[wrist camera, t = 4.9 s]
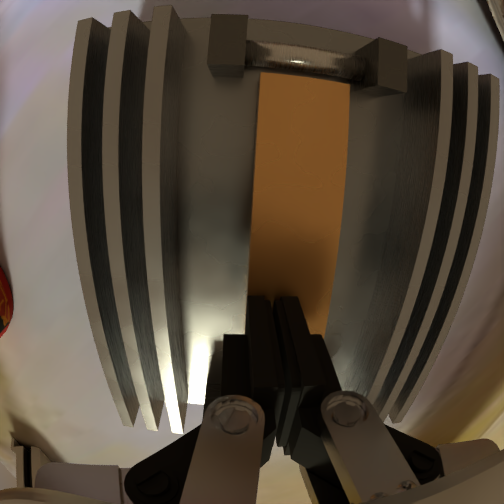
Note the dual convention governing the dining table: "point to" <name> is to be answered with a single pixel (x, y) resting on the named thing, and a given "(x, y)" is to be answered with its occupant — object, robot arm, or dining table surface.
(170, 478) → the robot arm
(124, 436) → the dining table surface
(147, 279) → the heatsink
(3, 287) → the canned food
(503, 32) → the food plate
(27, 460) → the white curved block
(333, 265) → the orange brown flat bar
